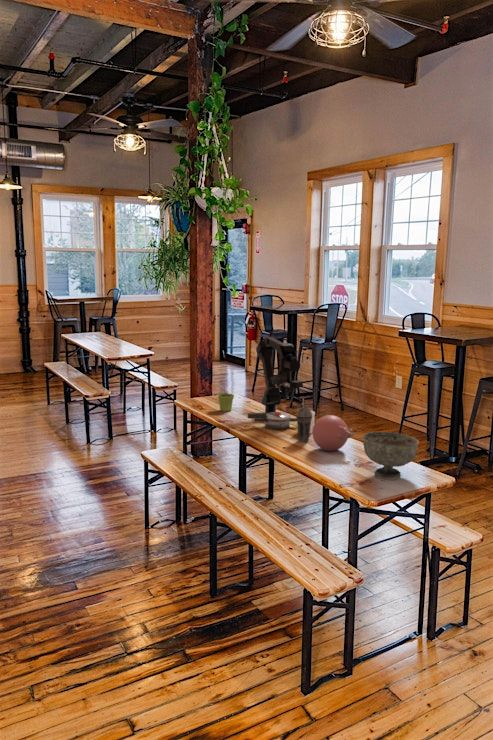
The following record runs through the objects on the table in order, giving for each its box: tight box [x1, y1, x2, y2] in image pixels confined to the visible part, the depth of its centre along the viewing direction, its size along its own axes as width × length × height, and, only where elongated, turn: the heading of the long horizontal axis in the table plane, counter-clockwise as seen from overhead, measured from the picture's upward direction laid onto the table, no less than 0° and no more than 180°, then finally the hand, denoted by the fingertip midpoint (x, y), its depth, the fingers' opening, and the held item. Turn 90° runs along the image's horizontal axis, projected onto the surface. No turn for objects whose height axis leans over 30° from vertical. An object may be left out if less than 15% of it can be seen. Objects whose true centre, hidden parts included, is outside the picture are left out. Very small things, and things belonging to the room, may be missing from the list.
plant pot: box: [217, 393, 235, 413], centre depth 320 cm, size 9×9×9 cm
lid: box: [246, 411, 292, 421], centre depth 288 cm, size 21×13×2 cm, turn 96°
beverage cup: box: [295, 398, 312, 443], centre depth 264 cm, size 7×7×20 cm
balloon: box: [312, 414, 354, 452], centre depth 249 cm, size 15×20×15 cm
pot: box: [253, 417, 297, 431], centre depth 289 cm, size 12×23×4 cm, turn 92°
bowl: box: [362, 431, 420, 481], centre depth 221 cm, size 20×19×15 cm
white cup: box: [309, 410, 316, 435], centre depth 279 cm, size 8×8×10 cm
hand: (284, 399), depth 294 cm, fingers closed
